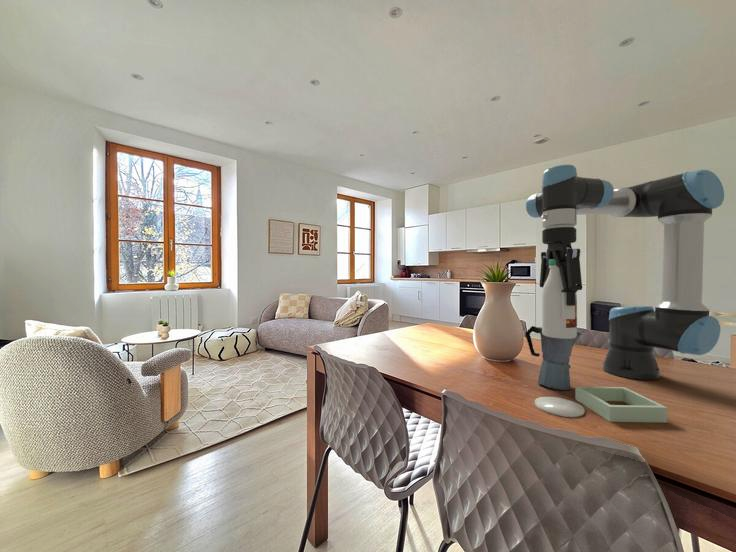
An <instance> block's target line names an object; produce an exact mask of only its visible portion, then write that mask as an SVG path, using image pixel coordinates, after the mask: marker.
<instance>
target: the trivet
mask: <svg viewBox="0 0 736 552" xmlns="http://www.w3.org/2000/svg"><path fill="white" fill-rule="evenodd" d="M534 405H535V407H536V408H537V409H539V411H543V412H545V413H547V414H551V415H553V416H559V417H564V418H579V417H582V416H584V415H585V408H584V407H583V406H582V405H580V404H579V403H577V402H575V401H572V400H569V399H565V398H562V397H557V396H555V397H554V396H541V397H536V398H535V400H534Z"/></svg>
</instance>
